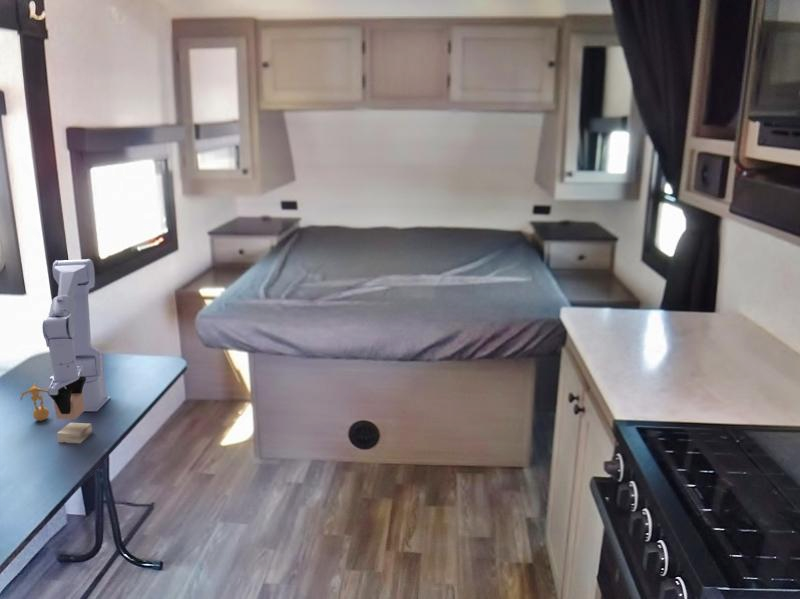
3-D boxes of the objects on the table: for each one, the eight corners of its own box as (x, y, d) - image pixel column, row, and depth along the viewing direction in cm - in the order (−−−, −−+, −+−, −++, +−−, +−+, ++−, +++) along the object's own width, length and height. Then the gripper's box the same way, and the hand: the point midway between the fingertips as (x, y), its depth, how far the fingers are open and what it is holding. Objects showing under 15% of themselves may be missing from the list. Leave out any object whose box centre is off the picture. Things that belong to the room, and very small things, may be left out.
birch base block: (71, 432, 173) (70, 422, 173) (92, 433, 173) (91, 423, 172) (58, 443, 168) (56, 433, 167) (80, 444, 167) (78, 434, 166)
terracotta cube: (66, 410, 171) (63, 393, 169) (84, 410, 171) (82, 393, 169) (56, 418, 166) (53, 401, 165) (75, 418, 166) (73, 401, 165)
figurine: (59, 414, 183) (53, 376, 179) (55, 424, 177) (49, 384, 174) (27, 418, 180) (20, 380, 177) (22, 428, 175) (15, 388, 171)
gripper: (62, 351, 171) (69, 396, 175) (32, 371, 157) (41, 421, 161) (88, 351, 171) (94, 397, 175) (61, 371, 157) (68, 421, 161)
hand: (70, 408), depth 168 cm, fingers closed on terracotta cube, 5 cm apart
